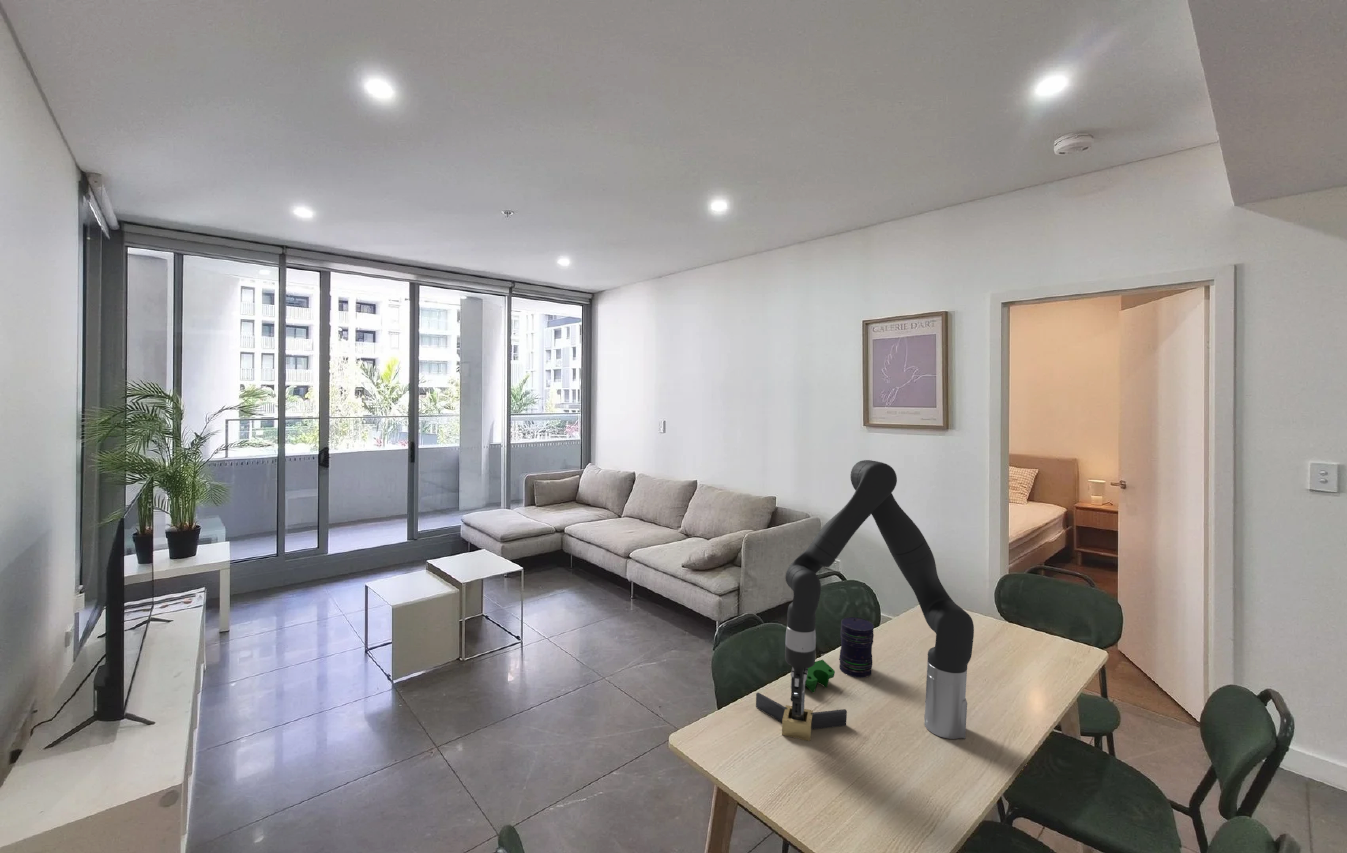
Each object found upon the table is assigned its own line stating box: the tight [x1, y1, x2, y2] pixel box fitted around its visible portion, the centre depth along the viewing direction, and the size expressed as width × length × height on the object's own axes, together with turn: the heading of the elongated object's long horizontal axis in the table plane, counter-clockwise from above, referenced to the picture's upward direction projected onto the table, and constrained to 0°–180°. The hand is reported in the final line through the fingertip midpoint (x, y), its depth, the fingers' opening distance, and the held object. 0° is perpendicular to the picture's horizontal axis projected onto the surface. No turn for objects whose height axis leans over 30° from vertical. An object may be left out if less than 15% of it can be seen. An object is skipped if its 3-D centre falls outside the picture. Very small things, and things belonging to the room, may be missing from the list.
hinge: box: [755, 692, 848, 742], centre depth 143 cm, size 24×11×4 cm, turn 72°
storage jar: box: [838, 616, 875, 679], centre depth 173 cm, size 10×10×15 cm
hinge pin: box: [792, 692, 806, 721], centre depth 141 cm, size 3×3×10 cm
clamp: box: [805, 659, 836, 693], centre depth 163 cm, size 12×6×9 cm, turn 113°
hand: (798, 705), depth 141 cm, fingers open, 8 cm apart
